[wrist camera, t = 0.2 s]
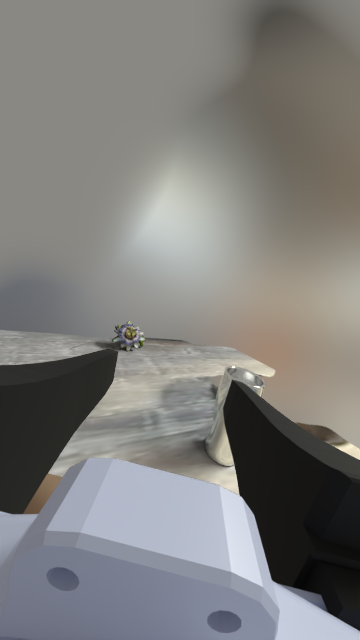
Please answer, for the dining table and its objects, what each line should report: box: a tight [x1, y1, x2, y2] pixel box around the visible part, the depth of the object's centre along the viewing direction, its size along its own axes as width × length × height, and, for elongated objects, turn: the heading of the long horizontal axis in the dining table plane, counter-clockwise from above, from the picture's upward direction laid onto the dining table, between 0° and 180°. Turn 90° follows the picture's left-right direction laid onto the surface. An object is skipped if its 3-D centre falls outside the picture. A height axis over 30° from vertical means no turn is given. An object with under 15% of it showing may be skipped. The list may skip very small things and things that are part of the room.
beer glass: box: [205, 366, 265, 466], centre depth 32 cm, size 7×7×15 cm
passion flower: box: [112, 321, 145, 351], centre depth 69 cm, size 11×11×12 cm
